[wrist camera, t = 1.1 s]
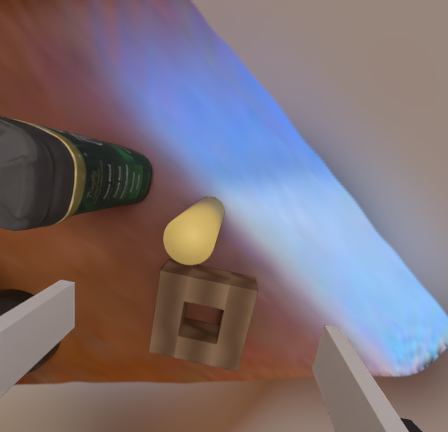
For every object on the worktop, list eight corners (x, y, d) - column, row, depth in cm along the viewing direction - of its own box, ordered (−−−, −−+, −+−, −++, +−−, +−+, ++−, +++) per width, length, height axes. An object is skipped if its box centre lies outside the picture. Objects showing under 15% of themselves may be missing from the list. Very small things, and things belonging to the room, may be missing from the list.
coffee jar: (158, 156, 30) (39, 131, 12) (146, 207, 32) (25, 254, 14) (95, 136, 30) (-122, 79, 12) (86, 188, 32) (-116, 208, 14)
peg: (193, 222, 32) (160, 259, 18) (198, 193, 31) (166, 210, 17) (221, 227, 32) (209, 269, 18) (227, 199, 31) (219, 221, 17)
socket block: (158, 332, 36) (148, 352, 32) (169, 259, 33) (160, 270, 29) (237, 349, 36) (237, 371, 32) (255, 277, 33) (257, 291, 29)
